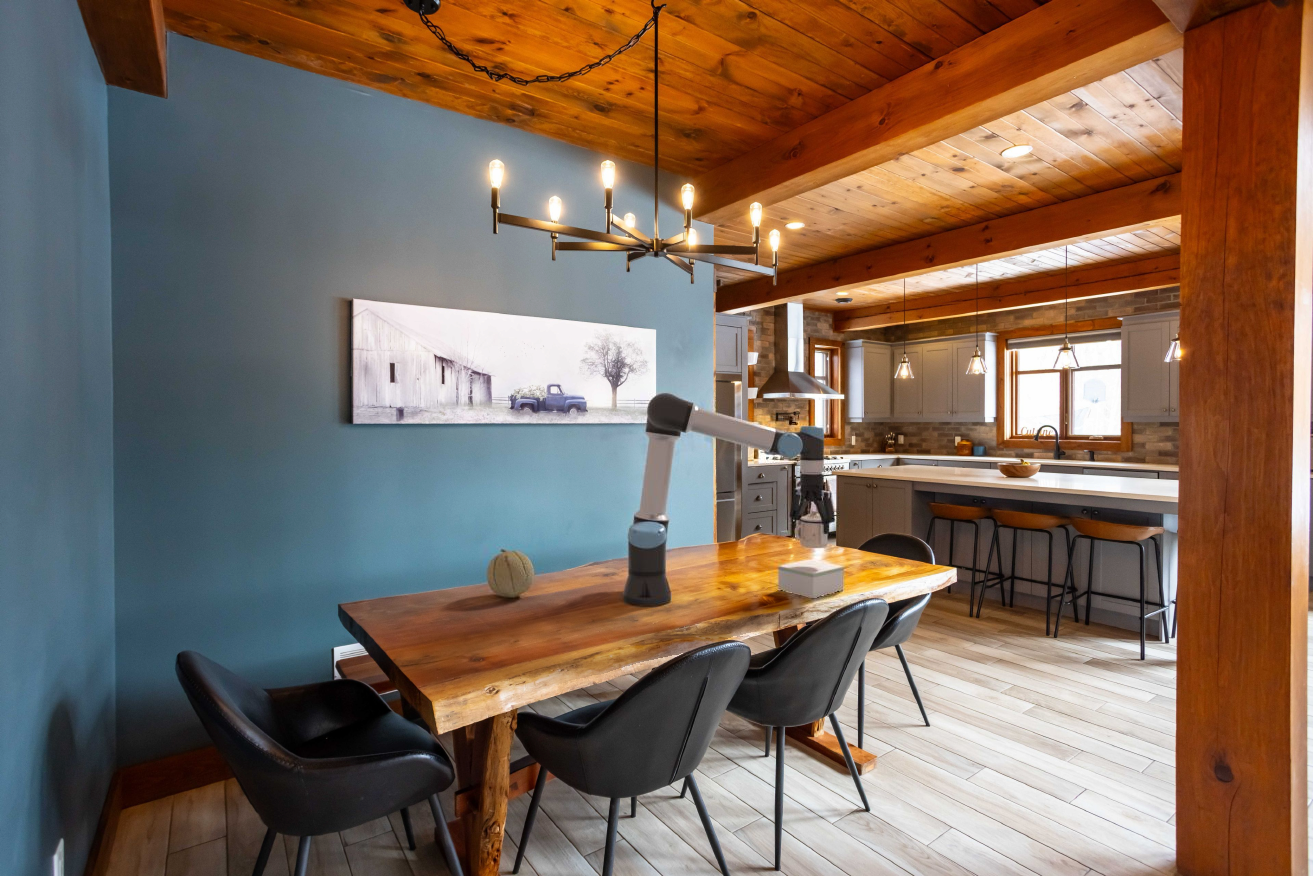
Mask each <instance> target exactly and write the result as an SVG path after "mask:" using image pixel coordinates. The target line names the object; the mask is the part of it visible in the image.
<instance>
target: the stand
mask: <svg viewBox="0 0 1313 876" xmlns="http://www.w3.org/2000/svg"><path fill="white" fill-rule="evenodd" d="M777 570H778V572H777V573H778V574H777V575H778V578H777V580H778V581H777V586H778V587H777V590H778V589H781V590H784V591H788V592H792V593H796V594H800V595H803V596H806V597H805V598H807V597H809V598H808V599H811V598H815V599H818V598H817V597H819V596H822V595H826V594H830V593H833V592H837V591H841V590H843V591H844V578H845V577H844V576H845V575H844V572H845V566H843V565H838V564H832V563H829V562H823V561H819V560H813V559H810V558H809V559H804V560H800V561H795V562H790V563H786V564H781V565H778V566H777ZM784 591H783V592H784ZM788 592H787V593H788ZM841 592H842V591H841ZM837 593H838V592H837ZM833 594H834V593H833ZM830 595H831V594H830ZM803 596H802V597H803ZM826 596H827V595H826ZM819 598H820V597H819Z"/></svg>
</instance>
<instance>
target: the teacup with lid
mask: <svg viewBox="0 0 1313 876" xmlns="http://www.w3.org/2000/svg"><path fill="white" fill-rule="evenodd" d="M800 521H801V525H798V526H797V527H796V528H795V527H794V535H795V538H796V537H797V538H798V539H800V540H799V541H800V546H801V547H804V548H807V549H808V548H809V549H825V548H827V547H828V543H827V544H820V524H822V523H823V522H822V520H821V517H820V515H819V513H818V510H814V509H813V510H810V513H808V514H806V515H804V516H803V515H802V517H801V519H800ZM800 527H801V538H800V537H799V535H798V529H799V528H800ZM828 535H829V534H827V536H828Z"/></svg>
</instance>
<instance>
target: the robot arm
mask: <svg viewBox="0 0 1313 876" xmlns="http://www.w3.org/2000/svg"><path fill="white" fill-rule="evenodd" d="M646 413H647V414H646V416H647V417H646V425H645V434H646V435H647V437H648V443H647V444H648V445H647V451H646V459H645V466H644V473H643V481H642V489H641V497H640V503H639V504H640V505H639V510H637V511H636V512H635V513H634V515H633V522H632V524H631V525H630V526H629V528H628V532H627V539H628V540H627V541H628V546H627V547H628V549H627V552H628V553H627V554H628V556H627V557H628V558H627V559H628V561H627V563H628V564H627V565H628V566H627V567H628V569H627V571H628V572H627V579H626V581H625V585H624V589H623V591H622V602H623V603H625V604H628V605H630V606H631V605H632V606H635V607H637V606H638V607H657V606H663V605H666V604H669V603H670V602H671V601H672V591H671V589H670V584H669V582H668V578H667V570H666V568H667V567H666V566H667V565H666V563H667V562H666V561H667V558H666V557H667V555H666V554H667V541H668V531H669V530H668V529H669V522H670V518H669V517H668V515H667V514H666V512H667V511H666V510H667V503H668V496H669V487H670V481H671V474H672V466H673V458H674V453H675V452H674V451H675V444H676V441H677V440H679V439H680V438H681V433H685V434H686V433H688V432H694V433H697V434H699V435H700V434H701V435H704V436H708V437H712V438H715V439H719V440H723V441H726V442H730V443H734V444H737V445H740V446H744V447H749V448H751V449H752V448H753V449H756V450H760V451H761V452H762V451H763V452H764V454H765V455H768V456H780V457H783V458H786V459H793V458H795V457H798V456H800V460H799V466H800V467H799V471H800V475H799V476H800V478H799V481H800V482H799V484H800V485H801V486H800V488H799V487H797V488H796V487H795V488H793V489H792V494H793V496H792V500H791V505H790V510H789V517H790V518H791V519H792V518H793V520H794V529H795V528H796V527H797V526H798V525H801V521H800V519H801V517H803V515H804V512H805V511H806V508H807V506H808V504H809V503H810V502H811V503H813V504H814V505H815V507H816V509H817V513H818V514H819V515H820V517H821V520H822V522H823V523H822V524H820V544H827V545H828V535H829V534H830V524H832V523H835V522H836V517H835V512H834V506H833V502H832V494H833V493H832V491H826V490H825V489H824V488H823V486H824V484H825V483H824V482H825V481H824V480H825V475H824V472H825V471H824V470H825V467H824V466H825V457H824V456H825V433H824V432H825V431H824V427H822V426H821V425H802V426H801V427H800V430H799V431H795V432H793V431H792V432H791V431H785V430H780V429H777V428H773V427H770V426H766V425H763V424H759V423H755V422H751V421H748V420H744V419H741V418H738V417H733V416H730V415H726V414H723V413H720V412H716V411H712V410H708V409H704V408H701V407H698V406H697V405H696V404H695V403H694V402H690V401H689V400H688V401H687V400H685V399H683V398H680V397H678V396H676V395H674V394H673V393H668V392H662V393H659V394H656V395H654V396H653V397H652V398H651V400H650V401H649V402H648V404H647V409H646ZM801 495H802V496H801ZM827 534H828V535H827ZM798 535H799V537H800V538H801V527H800V528H799V529H798ZM795 540H796V541H801V540H800V539H798V538H797V537H796V536H795Z"/></svg>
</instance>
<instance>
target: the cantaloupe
mask: <svg viewBox="0 0 1313 876" xmlns="http://www.w3.org/2000/svg"><path fill="white" fill-rule="evenodd" d="M500 552H501V553H497V554H496V555H495V556H494V557H493V558H492V559H491V561H489V563H488V566H487V569H486V578H487V583H488V586H489V587H490V590H491V591H492V592H494V593H495V594H496V595H497V596H500V597H502V598H509V599H515V598H517V597H519V596H520V595H522V594H524V593H525V592H527V591H528V590H529V589H530V588H531V587H532V585H533V583H534V579H535V569H534V566H533V564H532V561H531V560H530V558H529V557H528V556H527V555H526V554H525V553H523V552H521V551H520V550H519V551H518V550H506V549H504V548H501V549H500Z"/></svg>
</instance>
